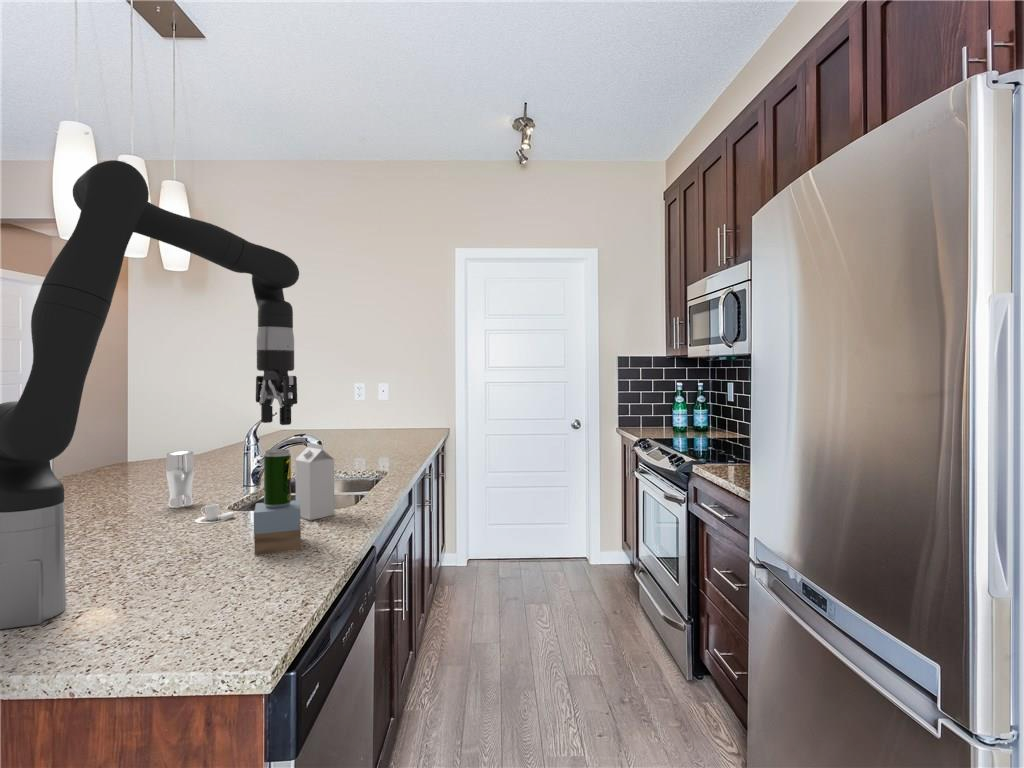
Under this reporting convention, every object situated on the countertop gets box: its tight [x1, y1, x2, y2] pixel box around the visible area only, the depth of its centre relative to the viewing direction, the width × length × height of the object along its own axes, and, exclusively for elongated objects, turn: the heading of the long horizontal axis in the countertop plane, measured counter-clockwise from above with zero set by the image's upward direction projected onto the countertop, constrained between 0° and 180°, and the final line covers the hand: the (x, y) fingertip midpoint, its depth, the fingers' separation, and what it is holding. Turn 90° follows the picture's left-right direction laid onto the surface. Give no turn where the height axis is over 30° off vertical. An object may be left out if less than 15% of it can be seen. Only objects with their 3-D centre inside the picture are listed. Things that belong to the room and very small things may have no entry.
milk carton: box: [295, 442, 335, 521], centre depth 147 cm, size 7×7×19 cm
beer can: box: [263, 448, 292, 508], centre depth 122 cm, size 5×5×12 cm
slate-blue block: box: [253, 499, 301, 535], centre depth 122 cm, size 9×9×4 cm
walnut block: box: [253, 526, 302, 556], centre depth 122 cm, size 9×9×4 cm
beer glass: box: [165, 450, 195, 509], centre depth 159 cm, size 7×7×15 cm
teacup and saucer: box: [194, 503, 235, 524], centre depth 144 cm, size 9×8×4 cm
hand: (275, 423), depth 121 cm, fingers open, 8 cm apart
